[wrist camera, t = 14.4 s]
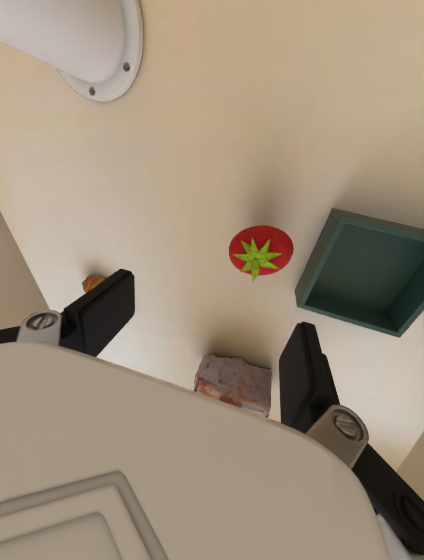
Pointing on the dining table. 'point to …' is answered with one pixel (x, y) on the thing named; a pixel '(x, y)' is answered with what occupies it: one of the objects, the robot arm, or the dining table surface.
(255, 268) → the strawberry
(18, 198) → the dining table surface
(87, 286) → the pastry
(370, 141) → the dining table surface
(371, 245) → the open box
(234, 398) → the food item
